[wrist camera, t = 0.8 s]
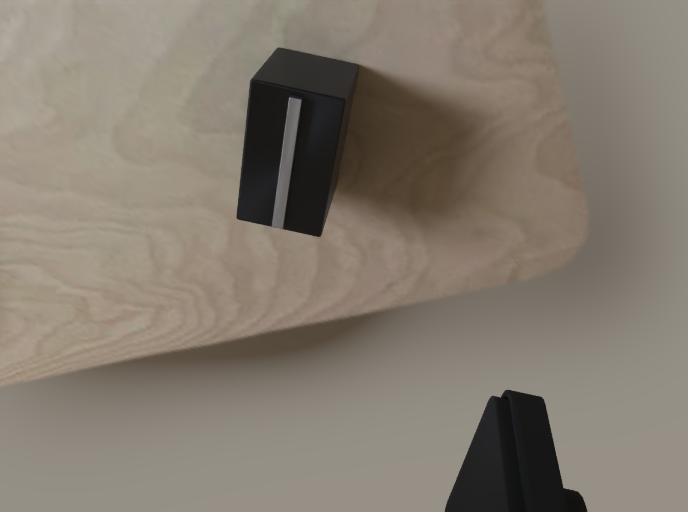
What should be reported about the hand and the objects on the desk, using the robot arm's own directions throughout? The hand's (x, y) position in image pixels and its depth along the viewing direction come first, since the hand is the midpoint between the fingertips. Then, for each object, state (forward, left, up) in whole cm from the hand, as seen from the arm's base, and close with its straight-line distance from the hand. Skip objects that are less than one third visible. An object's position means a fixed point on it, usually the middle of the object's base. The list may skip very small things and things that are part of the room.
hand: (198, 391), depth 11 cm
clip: (+1, -1, -16) cm, 16 cm away
